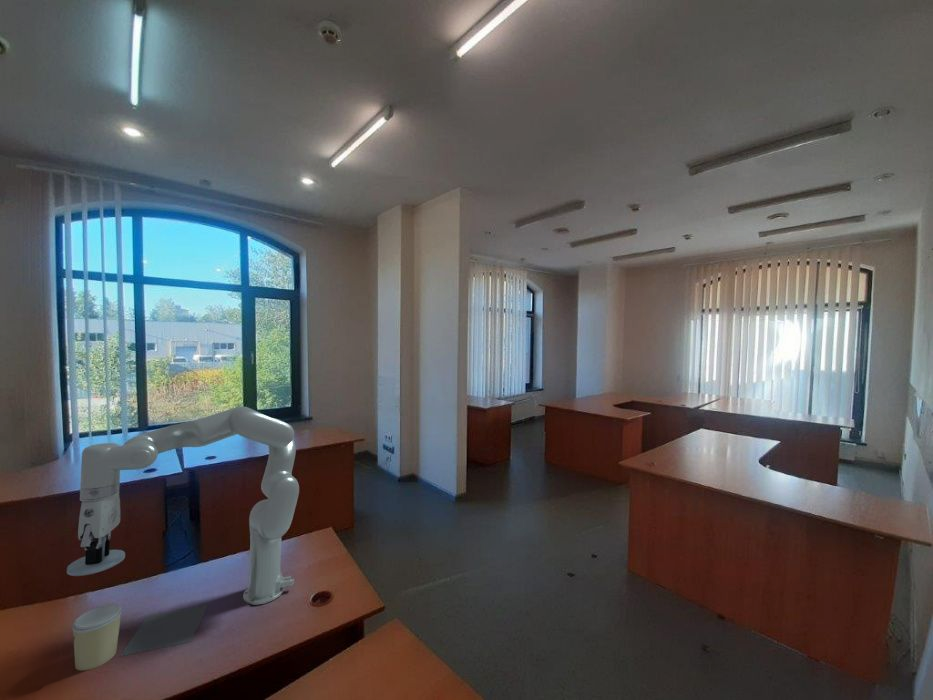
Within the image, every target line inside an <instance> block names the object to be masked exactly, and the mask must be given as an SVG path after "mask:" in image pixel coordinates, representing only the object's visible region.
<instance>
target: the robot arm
mask: <svg viewBox="0 0 933 700" xmlns="http://www.w3.org/2000/svg"><path fill="white" fill-rule="evenodd" d="M235 435H238V436H240V437H243V438H245V439H247V440H251V441H253V442H256V443H260V444H262V445H265V446H268V452H269V453H268V458H267V462H266V466H265V470H264V473H263V477H262V480H261V484H260V489H261V492H262V493H263V495H264V496H265V497H267V499H262V500H259V501H258V502H256V504H254V505H253V507H252V508H251V510H250V513H249V518H248V525H249V526H248V527H249V535H250V536H249V539H250V540H249V541H250V542H249V543H250V545H249V547H250V548H249V569H248V570H249V572H248V573H249V574H248V576H249V577H248V587H247V588H246V589H245V590H244V592H243V595H242V599H243V601H244V602H245V603H247V604H249V605H251V606H255V605H256V606H258V605H264V604H267V603H270V602H272V601H274V600H276V599H278V597H280V596H281V595H282V594H283V592H285V587H288V586H294V583H295V578H292V576H291V575H288V576H285V577H284V576H283V572H281V564H282V563H281V561H282V537H283V536H284V535H285V534H287V532H288V530H289V529H290V527H291V525H292V521H293V518H294V514H295V510H296V507H297V503H298V498H299V494H300V485H299V482H298V479H297V478H295V477H294V476H293V475H292V474H293V473H292V472H293V468H294V464H295V459H296V453H297V447H296V442H295V441H296V440H295V439H294V438H295V430H294V428H293V426H292V425H290V424H289V423H287V422H286V421H283V420H281V419H278V418H275V417H271V416H268V415H266V414H263V413H261V412H259V411H257V410H254V409H253V408H250V407H248V406H237V407H234V408H233V407H232V408H230V409H227V410H224V411H221V412H217V413H214V414H212V415H208V416H204V417H201V418H198V419H195V420H190V421H186V422H182V423H177V424H174V425H173V424H172V425H169V426H165V427H161V428H158V429H154V430H151V431H148V432H144V433H142V434H139V435H138V434H137V435H135V436H133V437H131V438H129V439H127V440H126V441H125V442H124V443H123V445H120V444H118V443H115V442H104V443H97V444H91V445H88V446H87V447H85V448H84V449H83V450H82V452H81V460H80V461H81V464H80V483H79V485H80V488H79V489H80V490H79V501H80V502H81V504H80V505H81V506H80V509H79V510H80V511H79V518H78V529H77V534H78V535H77V538H78V540H79V541H81V542H80V548H84V551H85V554H84V555H85V564H86V565H90V564H97V563H100V562H101V561H102V547H100V546H101V538H103V537H104V536H105V537H106V542H105V556H108V555H109V551H110V550H111V549H110V543H111V538H112V536H111V535H112V531H113V530H114V529H115V528H117V527H118V526H119V524H120V523H121V499H120V484H121V483H120V482H121V481H120V480H121V471H134V470H135V471H137V470H143V469H146V468H148V467H150V466H151V465H153V464H154V463H155V462H156V460H157V458H158V457H159V456H158V455H160V454H162V453H166V452H169V451H172V450H176V449H181V448H200V447H206V446H208V445H210V444H214V443H217V442H219V441H222V440H224V439H227V438H231V437H233V436H235ZM91 540H96V542H95V541H91Z"/></svg>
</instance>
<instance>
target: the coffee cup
mask: <svg viewBox="0 0 933 700" xmlns="http://www.w3.org/2000/svg"><path fill="white" fill-rule="evenodd" d="M122 612H123V610H122V607H121V606H120V605H118V604H116V603H115V604H113V603H112V604H105V605H99V606H97V607H95V608H92V609H90V610H88V611H85V612H84V613H83V614H81V615H79V616H78V617H77V618H76V620H75V621H74V623H72V627H71V628H72V632H73V633H72V634H73V635H72V636H73V653H74V666H75V670H77V671H89V670H92V669H95V668H97V667H100V666H102V665H103V664H105V663H107V662H109V660H111V659H112V658H113V657H115V655H116V653H117V649H118V643H119V633H120V624H121V617H122Z"/></svg>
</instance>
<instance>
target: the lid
mask: <svg viewBox="0 0 933 700" xmlns="http://www.w3.org/2000/svg"><path fill="white" fill-rule="evenodd" d="M91 541H95V542H96V540H91ZM105 542H106V537H105V536H104V537H103V538H101V546H100V547H102V561H101V562H100V563H97V564H90V565H86V564H85V556H82V557H79V558H78V559H76V560H74V561H72V562H71V563H70V564H68V565H67V568H66V574H67V575H68V576H73V577H80V576H89V575H94V574H96V573H97V574H98V573H101V572H103V571H106V570H109V569H111V568H114V567H115V566H117V565H118V564H120V563H122V562H123V561H124V560H125V558H126V552H125V551H124V550H122V549H110V551H109V555H108V556H105Z"/></svg>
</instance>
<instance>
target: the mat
mask: <svg viewBox="0 0 933 700" xmlns="http://www.w3.org/2000/svg"><path fill="white" fill-rule="evenodd" d="M208 607H209V604H207V605H202V606H195V607H190V608H184V609H180V610H174V611H168V612H167V611H166V612H163V613H157V614H151V615H147V616H146V617H145V619H144V620H143V622H142V623H141V625H140V626H139V628H138V629H137V630H136V632H135V634H134V635H133V636H132V638H131V639H130V641H129V642H128V643H127V645H126V647H125V648H124V650H123V651H122V652H121V654H120V655H119V657H123V656H128V655H132V654H138V653H142V652H147V651H151V650H152V651H153V650H157V649H161V648H167V647H171V646H176V645H182V644H186V643H191V642H192V640H193V638H194V636H195V634H196V632H197V630H198V627H199V626H200V623H201V621H202V619H203V618H204V615H205V612H206V611H207V609H208Z"/></svg>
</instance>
